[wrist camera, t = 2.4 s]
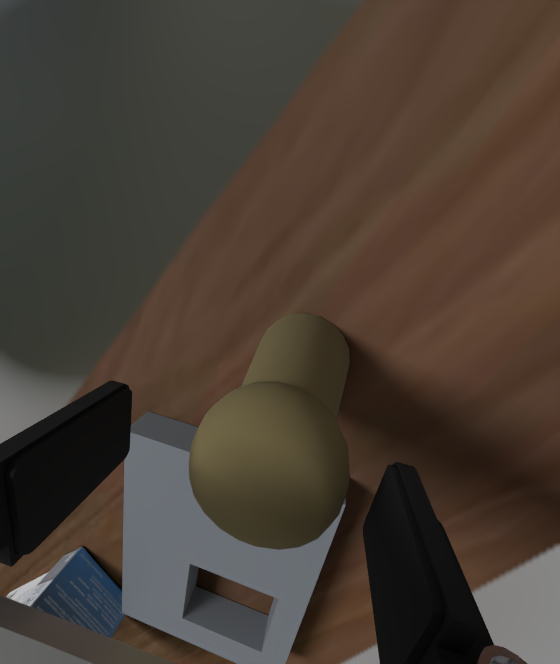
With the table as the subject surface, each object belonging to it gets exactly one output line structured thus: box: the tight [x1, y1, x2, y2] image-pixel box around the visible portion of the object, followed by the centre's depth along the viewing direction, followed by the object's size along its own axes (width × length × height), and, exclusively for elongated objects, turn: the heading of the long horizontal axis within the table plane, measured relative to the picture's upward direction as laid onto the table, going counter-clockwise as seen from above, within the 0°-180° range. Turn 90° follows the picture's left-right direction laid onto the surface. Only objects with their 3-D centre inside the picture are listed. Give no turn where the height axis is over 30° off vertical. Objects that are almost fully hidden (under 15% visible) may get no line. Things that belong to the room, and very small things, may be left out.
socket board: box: [122, 411, 346, 664], centre depth 23 cm, size 16×22×2 cm
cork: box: [189, 313, 350, 550], centre depth 12 cm, size 6×6×11 cm
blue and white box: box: [21, 547, 125, 638], centre depth 24 cm, size 9×4×12 cm, turn 34°
